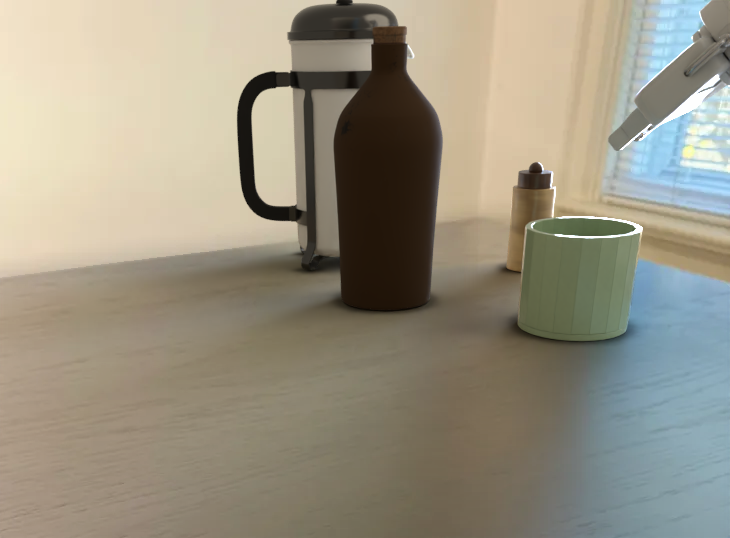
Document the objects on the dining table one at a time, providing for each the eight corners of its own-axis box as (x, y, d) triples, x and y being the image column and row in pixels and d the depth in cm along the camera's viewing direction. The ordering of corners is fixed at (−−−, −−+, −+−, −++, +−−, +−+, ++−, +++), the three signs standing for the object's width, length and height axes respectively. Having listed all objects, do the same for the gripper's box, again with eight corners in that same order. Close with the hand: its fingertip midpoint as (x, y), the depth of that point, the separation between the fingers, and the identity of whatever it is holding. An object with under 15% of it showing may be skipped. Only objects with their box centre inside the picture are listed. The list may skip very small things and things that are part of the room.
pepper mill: (545, 263, 107) (555, 159, 101) (549, 272, 103) (561, 164, 97) (504, 263, 107) (513, 159, 102) (507, 272, 103) (516, 165, 98)
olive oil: (413, 317, 88) (422, 25, 75) (318, 306, 92) (311, 27, 79) (450, 292, 96) (463, 25, 83) (360, 283, 100) (361, 27, 88)
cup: (616, 311, 88) (630, 216, 84) (636, 342, 79) (653, 237, 75) (513, 310, 89) (521, 216, 85) (522, 340, 80) (531, 237, 76)
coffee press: (342, 242, 120) (340, -19, 105) (431, 259, 110) (442, -28, 95) (241, 263, 110) (223, -23, 95) (328, 284, 100) (323, -32, 85)
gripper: (750, 63, 78) (619, 177, 87) (771, 57, 93) (658, 154, 102) (706, 5, 77) (580, 125, 86) (735, 9, 93) (625, 110, 102)
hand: (622, 140), depth 94 cm, fingers open, 8 cm apart
